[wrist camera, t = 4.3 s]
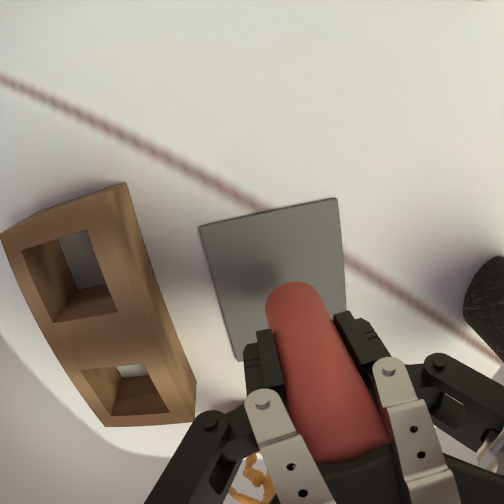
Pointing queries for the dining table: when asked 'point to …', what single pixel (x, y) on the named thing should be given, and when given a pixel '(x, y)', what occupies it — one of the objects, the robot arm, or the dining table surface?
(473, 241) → the dining table surface
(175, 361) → the hole block
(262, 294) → the mat
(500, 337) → the travel mug
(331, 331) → the peg
